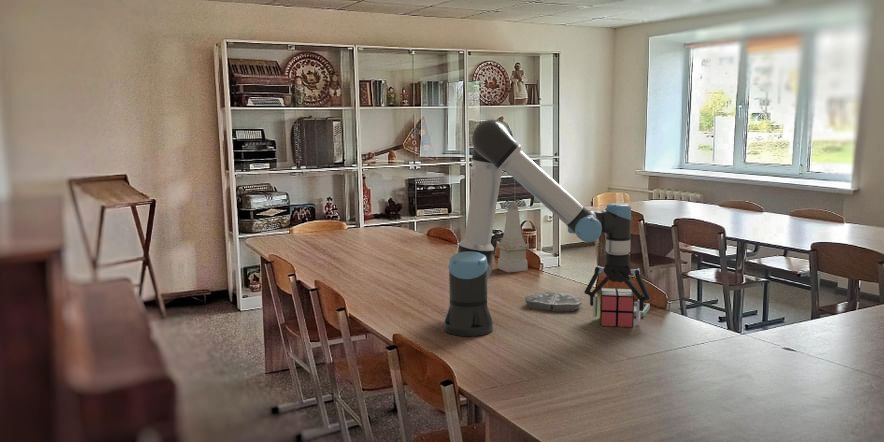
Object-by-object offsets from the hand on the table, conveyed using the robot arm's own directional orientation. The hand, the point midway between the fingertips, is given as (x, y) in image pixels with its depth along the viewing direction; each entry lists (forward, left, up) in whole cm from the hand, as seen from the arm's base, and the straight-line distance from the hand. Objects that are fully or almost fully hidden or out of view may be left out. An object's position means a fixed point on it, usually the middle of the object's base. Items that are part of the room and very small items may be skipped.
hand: (616, 318), depth 221 cm
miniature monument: (+64, +58, -2) cm, 86 cm away
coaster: (+15, -1, -1) cm, 15 cm away
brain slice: (+12, +24, -2) cm, 27 cm away
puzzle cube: (0, 0, -2) cm, 2 cm away
